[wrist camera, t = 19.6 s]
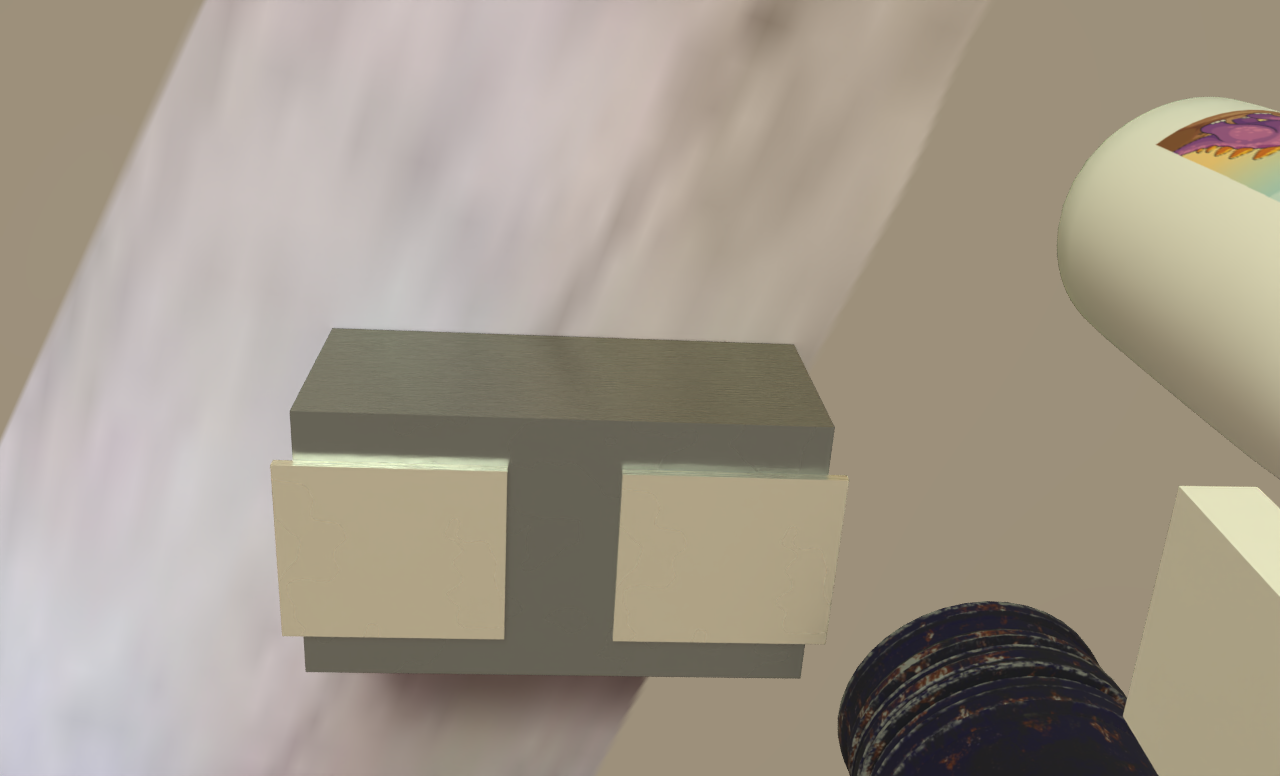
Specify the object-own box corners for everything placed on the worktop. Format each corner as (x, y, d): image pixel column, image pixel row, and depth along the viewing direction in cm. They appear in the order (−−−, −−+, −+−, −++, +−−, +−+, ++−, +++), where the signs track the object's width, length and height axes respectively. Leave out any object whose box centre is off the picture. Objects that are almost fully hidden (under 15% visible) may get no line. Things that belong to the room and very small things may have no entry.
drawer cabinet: (810, 345, 36) (856, 432, 31) (780, 577, 40) (817, 696, 34) (315, 327, 35) (266, 415, 30) (327, 568, 39) (285, 690, 33)
